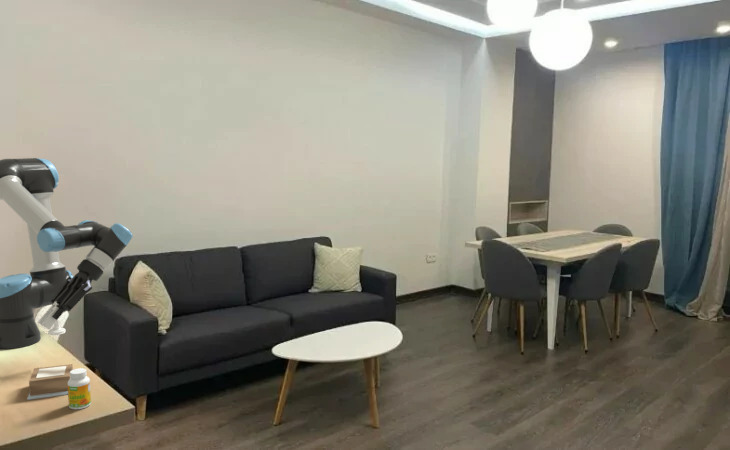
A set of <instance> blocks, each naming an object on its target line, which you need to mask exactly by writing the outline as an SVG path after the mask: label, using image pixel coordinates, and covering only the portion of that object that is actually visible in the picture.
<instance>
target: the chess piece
mask: <svg viewBox="0 0 730 450" xmlns="http://www.w3.org/2000/svg"><path fill="white" fill-rule="evenodd" d="M53 305H55V307H53V308H52V310H54V309H55V308H56V307H57V305H59V304H57V302H54V303H53ZM65 333H66V328H64V327H61V326H60V320H59V319H58V320H57V321H56V322H55V323H54V324H53V326H52V328H50V329H48V332H47V334H48V335H49V336H60V335H62V334H63V335H64V334H65Z"/></svg>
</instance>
